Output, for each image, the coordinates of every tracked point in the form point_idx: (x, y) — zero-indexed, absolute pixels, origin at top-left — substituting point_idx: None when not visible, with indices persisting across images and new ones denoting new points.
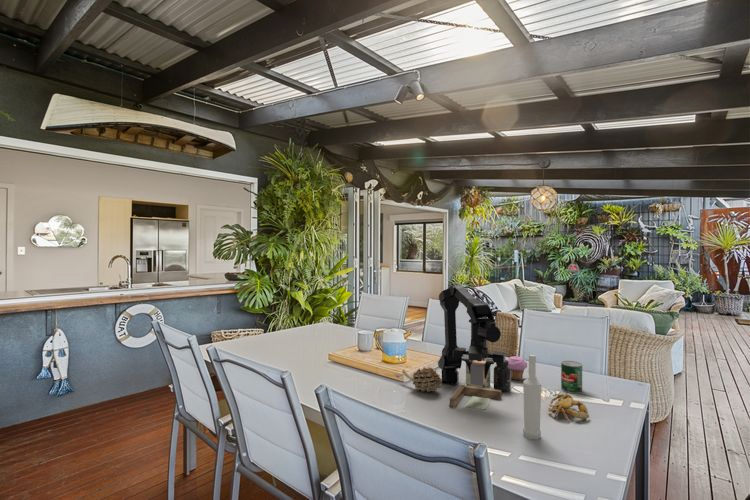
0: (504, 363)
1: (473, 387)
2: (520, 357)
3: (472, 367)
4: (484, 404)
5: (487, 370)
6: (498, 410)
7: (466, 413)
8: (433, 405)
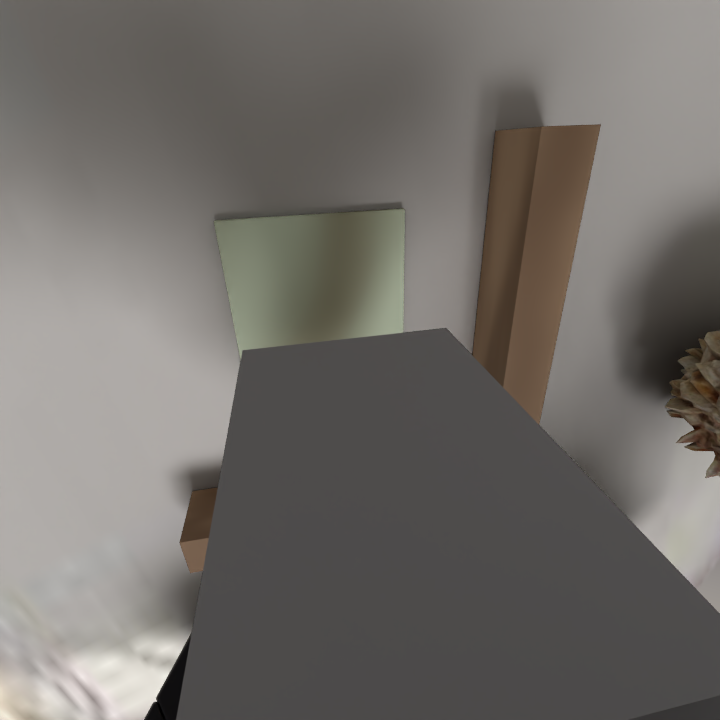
0: None
1: None
2: None
3: (626, 604)
4: (264, 329)
5: (160, 718)
6: (104, 273)
7: (363, 14)
8: (689, 89)
